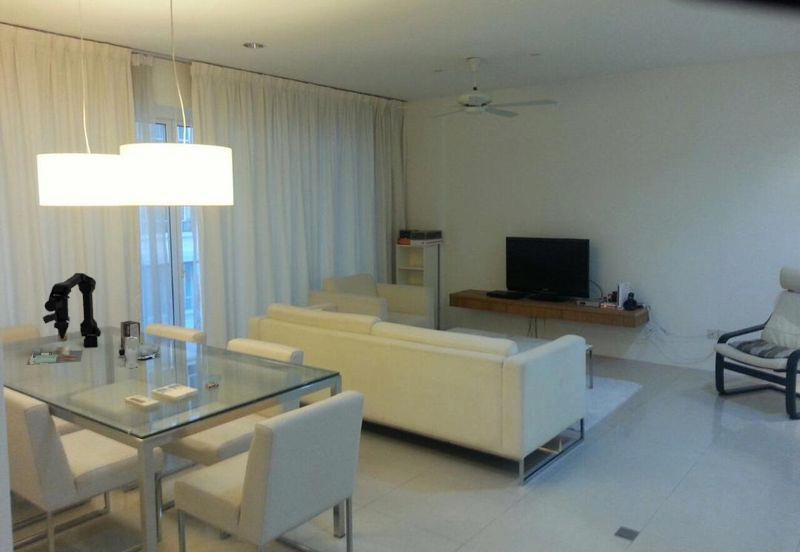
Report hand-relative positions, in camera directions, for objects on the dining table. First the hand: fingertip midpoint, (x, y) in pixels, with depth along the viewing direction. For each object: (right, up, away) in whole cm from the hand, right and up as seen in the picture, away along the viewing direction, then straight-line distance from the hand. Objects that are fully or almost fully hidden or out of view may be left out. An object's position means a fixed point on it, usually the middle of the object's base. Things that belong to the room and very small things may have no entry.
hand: (62, 338), depth 315 cm
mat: (-6, -11, +6) cm, 14 cm away
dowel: (0, -1, 0) cm, 1 cm away
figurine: (+34, -12, +13) cm, 39 cm away
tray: (-8, -11, -2) cm, 14 cm away
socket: (+1, -11, +3) cm, 12 cm away
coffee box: (+24, -10, +26) cm, 37 cm away
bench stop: (-17, -10, +7) cm, 21 cm away
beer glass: (+38, -14, -4) cm, 41 cm away
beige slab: (-7, -10, +12) cm, 17 cm away
